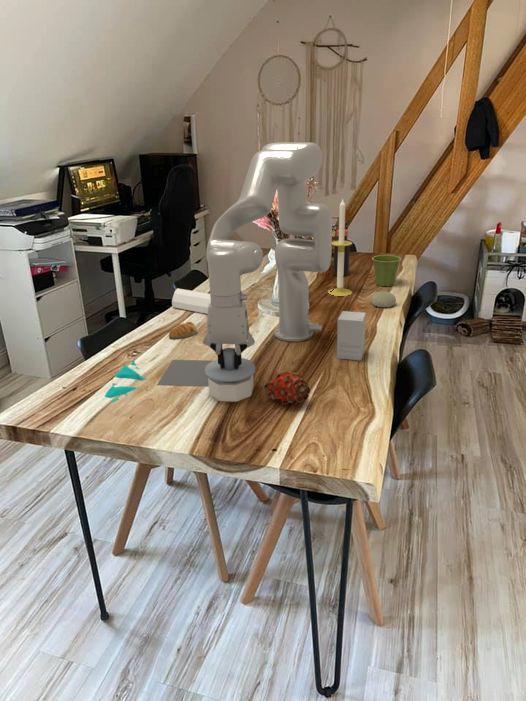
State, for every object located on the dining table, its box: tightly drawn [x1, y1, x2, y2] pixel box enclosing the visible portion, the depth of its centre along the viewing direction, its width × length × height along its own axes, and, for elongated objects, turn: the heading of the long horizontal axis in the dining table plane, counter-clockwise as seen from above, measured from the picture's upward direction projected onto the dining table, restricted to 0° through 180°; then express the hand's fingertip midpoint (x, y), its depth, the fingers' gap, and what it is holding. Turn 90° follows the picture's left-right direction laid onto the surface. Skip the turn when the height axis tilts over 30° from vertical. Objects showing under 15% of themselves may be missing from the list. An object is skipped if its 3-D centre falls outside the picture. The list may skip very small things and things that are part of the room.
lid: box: [205, 347, 256, 382], centre depth 133 cm, size 13×13×6 cm
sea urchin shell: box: [370, 290, 397, 308], centre depth 195 cm, size 9×8×8 cm
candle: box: [327, 198, 353, 297], centre depth 202 cm, size 10×10×38 cm
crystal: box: [171, 288, 211, 314], centre depth 196 cm, size 7×7×24 cm
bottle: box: [332, 229, 351, 277], centre depth 229 cm, size 7×7×20 cm
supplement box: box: [336, 310, 367, 361], centre depth 153 cm, size 7×7×13 cm
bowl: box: [208, 374, 254, 402], centre depth 136 cm, size 11×11×5 cm
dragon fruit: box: [264, 371, 311, 406], centre depth 130 cm, size 8×8×12 cm
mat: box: [156, 359, 213, 388], centre depth 147 cm, size 16×16×1 cm
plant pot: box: [371, 254, 402, 287], centre depth 217 cm, size 12×12×11 cm
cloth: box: [104, 360, 148, 404], centre depth 143 cm, size 26×14×2 cm, turn 168°
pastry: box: [168, 321, 198, 340], centre depth 174 cm, size 9×7×4 cm
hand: (230, 366), depth 134 cm, fingers closed on lid, 3 cm apart
